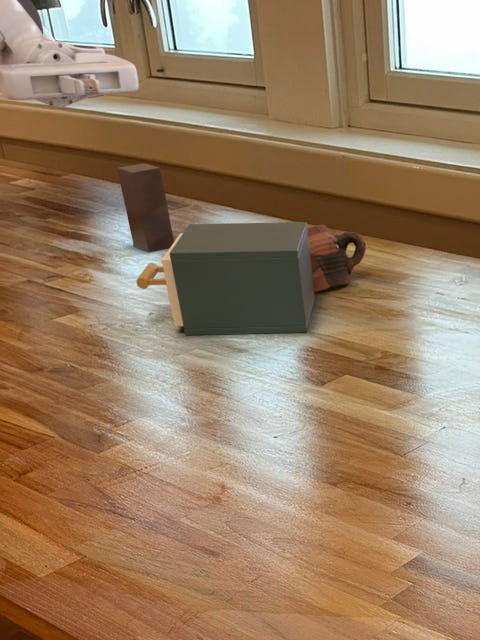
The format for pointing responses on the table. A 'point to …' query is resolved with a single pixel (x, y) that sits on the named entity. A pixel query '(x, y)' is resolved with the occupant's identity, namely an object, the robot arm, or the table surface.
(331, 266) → the pottery mug
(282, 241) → the cabinet
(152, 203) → the block
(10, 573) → the table surface
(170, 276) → the drawer
